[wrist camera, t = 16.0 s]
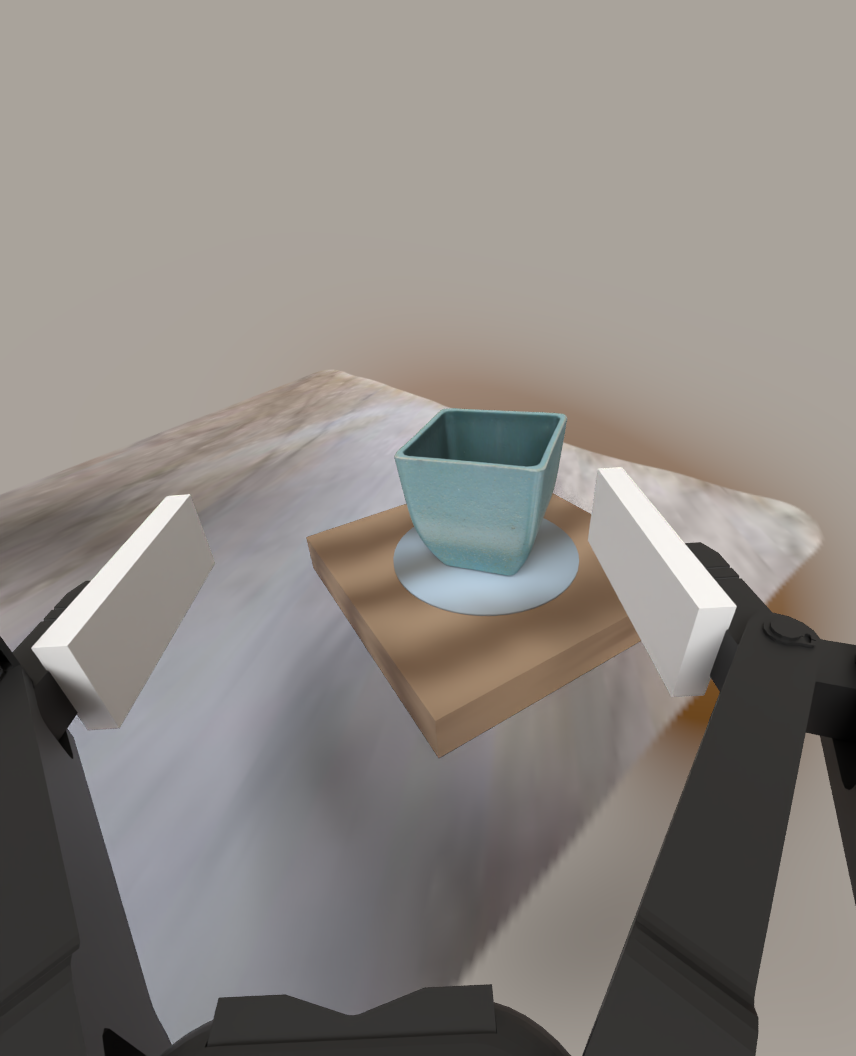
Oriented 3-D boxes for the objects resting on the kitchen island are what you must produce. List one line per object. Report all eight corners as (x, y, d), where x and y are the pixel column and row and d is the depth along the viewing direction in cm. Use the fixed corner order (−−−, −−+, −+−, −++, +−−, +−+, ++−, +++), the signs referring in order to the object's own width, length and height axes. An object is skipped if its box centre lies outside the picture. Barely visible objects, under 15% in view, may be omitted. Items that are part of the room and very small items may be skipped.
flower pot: (404, 578, 33) (390, 454, 28) (448, 514, 40) (442, 405, 35) (535, 603, 30) (543, 469, 25) (558, 529, 37) (568, 413, 32)
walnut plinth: (313, 567, 40) (305, 535, 39) (508, 497, 48) (508, 467, 46) (438, 758, 25) (435, 718, 24) (692, 610, 33) (703, 572, 31)
